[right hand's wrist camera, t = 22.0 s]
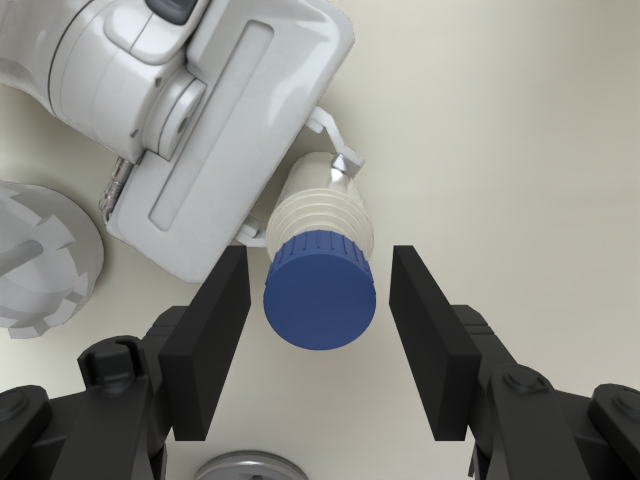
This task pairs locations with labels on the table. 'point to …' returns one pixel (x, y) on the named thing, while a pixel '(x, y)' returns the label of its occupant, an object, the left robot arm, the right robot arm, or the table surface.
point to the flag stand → (44, 259)
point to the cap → (319, 291)
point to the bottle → (319, 205)
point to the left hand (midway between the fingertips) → (330, 209)
